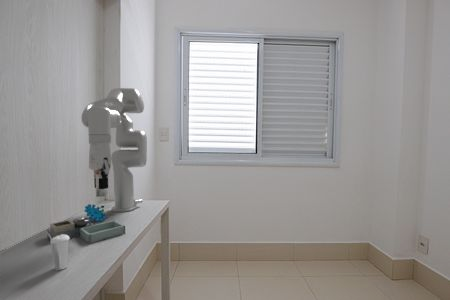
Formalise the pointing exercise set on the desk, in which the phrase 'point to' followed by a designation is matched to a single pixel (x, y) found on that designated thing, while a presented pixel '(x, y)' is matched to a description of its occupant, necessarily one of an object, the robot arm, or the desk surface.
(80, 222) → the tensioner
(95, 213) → the gear
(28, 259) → the desk surface
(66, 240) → the milkshake
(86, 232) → the tray
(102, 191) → the pin
